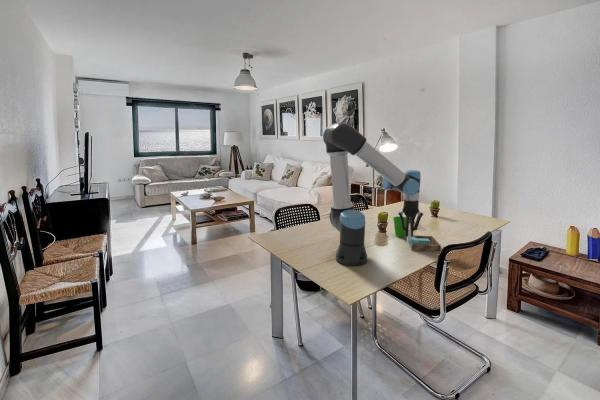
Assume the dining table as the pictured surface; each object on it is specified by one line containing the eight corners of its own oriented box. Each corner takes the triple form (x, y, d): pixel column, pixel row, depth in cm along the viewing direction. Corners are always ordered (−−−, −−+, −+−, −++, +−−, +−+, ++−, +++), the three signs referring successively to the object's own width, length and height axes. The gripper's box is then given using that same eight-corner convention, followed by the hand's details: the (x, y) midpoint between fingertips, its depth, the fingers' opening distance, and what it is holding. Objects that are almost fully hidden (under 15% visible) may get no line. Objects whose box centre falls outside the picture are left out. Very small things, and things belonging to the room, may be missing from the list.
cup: (409, 234, 194) (409, 217, 192) (407, 239, 186) (408, 220, 184) (393, 233, 198) (394, 215, 196) (391, 237, 190) (391, 219, 188)
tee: (411, 248, 172) (412, 242, 171) (407, 242, 182) (408, 236, 181) (431, 249, 171) (431, 242, 170) (426, 242, 180) (426, 236, 180)
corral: (411, 250, 169) (412, 245, 168) (405, 240, 185) (405, 235, 184) (440, 251, 167) (440, 246, 166) (431, 241, 183) (432, 235, 182)
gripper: (399, 200, 169) (397, 244, 174) (426, 201, 167) (422, 245, 172) (397, 198, 176) (395, 239, 181) (422, 198, 174) (419, 240, 179)
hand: (408, 242), depth 176 cm, fingers closed
